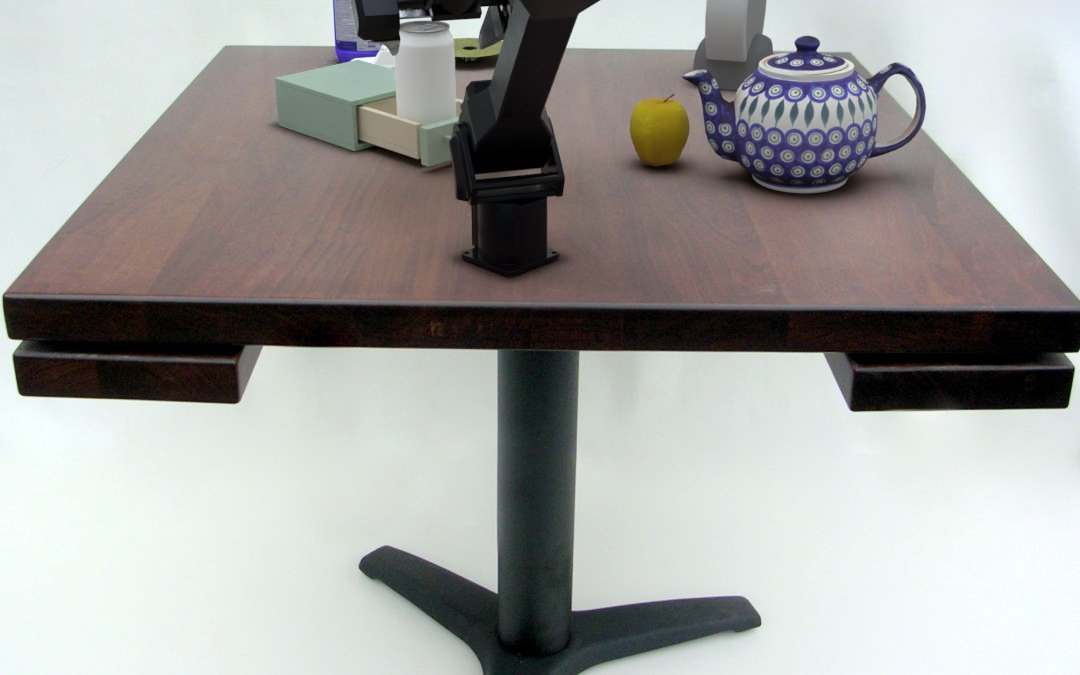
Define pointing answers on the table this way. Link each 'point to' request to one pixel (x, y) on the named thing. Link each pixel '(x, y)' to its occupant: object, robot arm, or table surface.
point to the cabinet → (332, 100)
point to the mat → (473, 49)
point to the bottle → (350, 35)
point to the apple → (659, 130)
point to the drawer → (405, 131)
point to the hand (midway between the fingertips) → (437, 48)
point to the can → (425, 72)
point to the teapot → (802, 118)
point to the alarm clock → (733, 41)
